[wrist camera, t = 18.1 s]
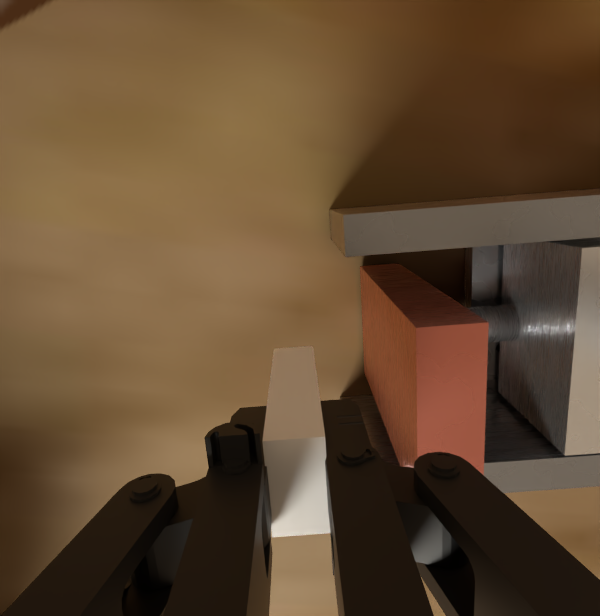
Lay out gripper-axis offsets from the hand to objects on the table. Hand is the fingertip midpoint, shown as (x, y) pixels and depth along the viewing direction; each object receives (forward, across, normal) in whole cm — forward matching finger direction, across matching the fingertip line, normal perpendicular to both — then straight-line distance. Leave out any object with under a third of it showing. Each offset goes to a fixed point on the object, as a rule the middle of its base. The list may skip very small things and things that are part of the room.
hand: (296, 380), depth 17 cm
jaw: (+7, +9, 0) cm, 11 cm away
